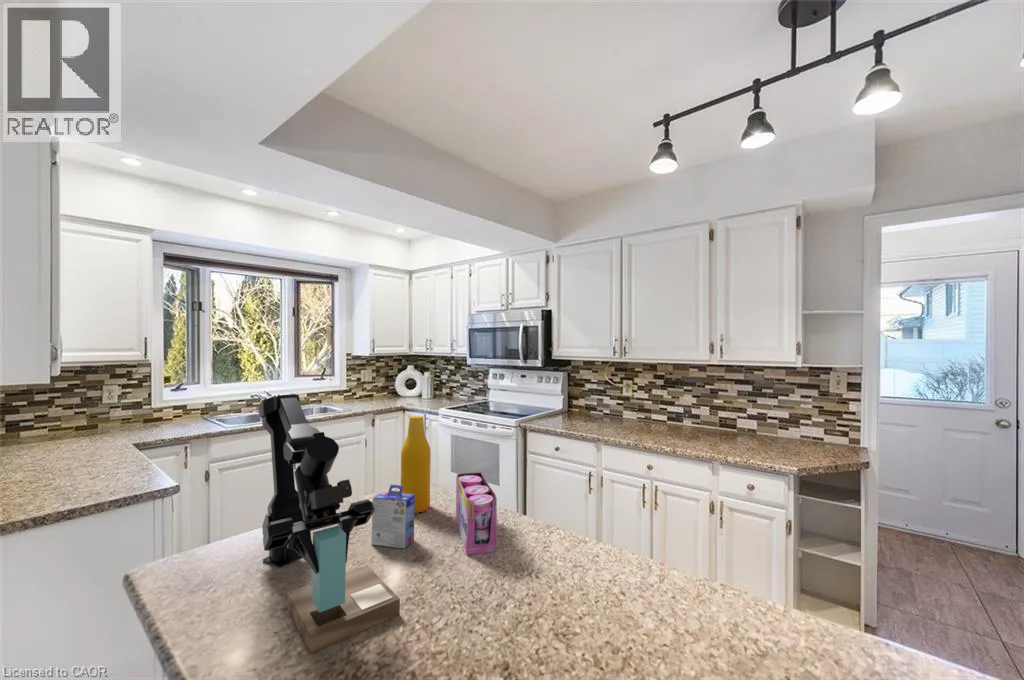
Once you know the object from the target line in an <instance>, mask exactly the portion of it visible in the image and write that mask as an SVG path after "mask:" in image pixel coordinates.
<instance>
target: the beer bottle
mask: <svg viewBox="0 0 1024 680" xmlns="http://www.w3.org/2000/svg"><path fill="white" fill-rule="evenodd" d="M424 423H425V422H424V416H423V415H411V416H409V417H408V427H407V434H406V438H405V440H404V442H403V445H402V446H401V451H400V486H403V488H402V494H415V511H414V513H417V514H420V513H419V512H422V511H425V510H426V511H428V510H429V509H430V506H431V447H430V444H429V442H428V440H427V437H426V434H425V425H424ZM428 508H429V509H428ZM427 509H428V510H427ZM426 511H425V512H426ZM422 513H423V512H422Z"/></svg>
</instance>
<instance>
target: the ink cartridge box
mask: <svg viewBox="0 0 1024 680" xmlns="http://www.w3.org/2000/svg"><path fill="white" fill-rule="evenodd" d="M402 488H403V486H401V484H399V485H398V484H390V486H389V488H388V492H382V491H381V492H380V493H378V494H377V495H375V496H374V497H373V498H372V501H371V502H372V503H373V505H374V509H375V511H374V513H373V514H372V516H371V540H370V541H371V542H370V543H371V545H372V546H381V547H391V548H397V549H406V548H407V547H408V546H410V544H412V543H413V542H414V541H415V514H414V511H415V494H402ZM392 489H399V490H398V491H397V490H392Z"/></svg>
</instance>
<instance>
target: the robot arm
mask: <svg viewBox="0 0 1024 680" xmlns="http://www.w3.org/2000/svg"><path fill="white" fill-rule="evenodd" d="M258 416H259V418H260V419H261V422H262V423H261V425H262V426H263V428H264V429H265V430H266V431H267V432H268V434H269V435H270V447H271V464H272V477H273V490H274V492H273V493H274V494H273V495H272V498H271V499H270V502H269V504H268V506H267V513H266V514H265V516H264V519H263V522H262V544H263V545H262V546H263V551H265V552H266V551H267V552H269V553H268V556H267V557H265V558H262V562H263V563H266V564H268V565H269V564H270V565H272V566H276V567H278V568H283V567H284V566H287V565H288V564H290V563H292V562H295V561H296V560H298V559H300V558H302V559H303V560H304V561H305V562H306V564H307V565H308V567H310V569H311V570H313V571H314V573H315V574H317V573H318V572H319V567H318V561H317V557H316V554H315V551H314V547H313V539H312V531H317V530H319V529H320V530H321V529H325V528H326V527H330V526H335V525H336V526H339V527H340V528H341V529H342V530H343V531H344V532H345V533H346V563H347V562H348V552H349V551H348V550H349V543H350V542H349V539H350V535H351V532H352V531H353V529H354V528H356V527H359V526H363V525H365V524H368V522H369V520H370V519H372V514H373V513H374V511H375V509H374V505H373V503H372V502H373V501H372V500H370V499H369V498H367V499H363V500H360V501H355V502H351V503H350V505H349V508H348V509H347V510H345V511H340V512H337V511H338V510H340V508H341V504H343V503H344V499H347V498H350V497H351V496H352V495H353V490H352V489H353V488H352V485H351V481H350V479H349V478H347V479H344V480H339V481H337V483H336V485H334V486H333V485H332V484H331V483H330V482H329V477H328V474H329V472H331V469H332V467H333V465H334V463H335V460H336V459H337V455H338V454H339V449H340V447H339V444H338V443H337V442H336V441H335V440H334V439H333V438H331V437H329V436H326V435H325V432H324V431H322V432H321V431H320V430H319V429H318V428H316V427H315V426H311V425H310V424H309V422H308V419H307V417H306V415H305V413H304V410H303V407H302V406H301V403H300V395H299V393H295V392H287V393H286V392H285V393H277V394H275V395H274V396H272V397H269V398H264V399H263V400H261V401H260V403H259V404H258ZM298 464H299V465H298ZM294 465H298V466H297V467H296V469H294ZM294 470H295V471H294Z"/></svg>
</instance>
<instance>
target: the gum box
mask: <svg viewBox="0 0 1024 680" xmlns="http://www.w3.org/2000/svg"><path fill="white" fill-rule="evenodd" d="M455 478H456V479H455V481H456V486H455V487H456V490H455V500H456V501H455V503H456V504H455V506H456V507H455V519H456V524H457V527H458V531H459V534H460V537H461V540H462V543H463V544H462V545H463V547H464V552H465V553H466V555H467V556H469V555H479V554H489V553H497V539H498V538H497V534H498V533H497V532H498V531H497V529H498V526H497V523H498V521H497V515H498V514H497V512H498V511H497V499H498V498H497V496H496V494H495V491H494V490H493V489H492V488H491V486H490V485H489V483H488V482H487V480H486V478H485V477H484V475H483V473H482V472H469V473H468V472H466V473H465V472H464V473H457V474H456V477H455Z"/></svg>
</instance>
